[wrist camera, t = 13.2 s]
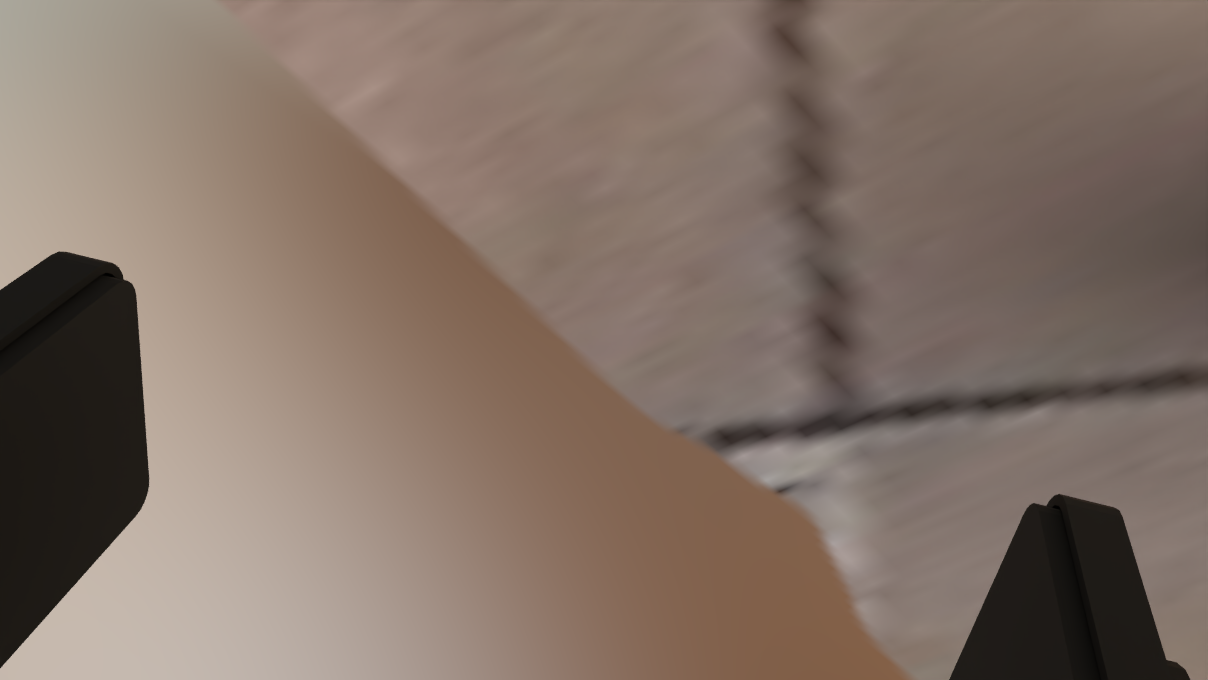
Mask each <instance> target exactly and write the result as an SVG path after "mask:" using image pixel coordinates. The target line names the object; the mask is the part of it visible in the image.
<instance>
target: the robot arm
mask: <svg viewBox="0 0 1208 680" xmlns="http://www.w3.org/2000/svg"><path fill="white" fill-rule="evenodd" d="M148 487H149V470H148V456H147V443H146V428H145V414H144V399H143V386H142V371H141V357H140V343H139V329H138V314H137V300H136V293H135V289H134V287H133V285H132V284H131V283H130V282H128V281H126V280H124V279H123V275H122V272H121V271H120V269H119V267H117V266H116V265H115V264H113V263H110V262H106V261H102V260H97V259H93V258H89V257H85V256H81V255H76V254H72V253H68V252H57V253H55V254H52V255H51V256H49V257H48V258H46V259H45V260H43V261H42V262H40V263H39V264H37V265H36V266H34V267H33V268H32V269H30V270H29V271H28V272H26V273H24V274H23V275H21V276H20V277H19V278H17V279H16V280H14V281H13V282H11V283H10V284H8V285H7V286H5V287H4V288H3V289H1V290H0V668H1V667H2V666H3V664H4V663H5V662H6V661H7V660H8V659H9V658H10V657H11V656H12V654H13V653H14V652H15V651H16V650H17V649H18V648H19V646H21V644H22V643H23V642H24V641H25V640H26V639H27V638H28V637H29V635H30V634H31V633H32V632H33V631H34V630H35V629H36V628H37V626H38V625H39V624H40V623H41V622H42V621H43V620H44V619H45V617H46V616H47V615H48V614H49V613H50V612H51V611H52V610H53V608H54V607H55V606H56V605H57V604H58V603H59V602H60V601H61V599H62V598H63V597H64V596H65V595H66V594H67V592H69V590H70V589H71V588H72V587H73V586H74V585H75V584H76V583H77V582H78V580H79V579H80V578H81V577H82V576H83V575H84V573H86V571H87V570H88V569H89V568H90V567H91V566H92V564H94V562H95V561H96V560H97V559H98V558H99V557H100V556H101V554H102V553H103V552H104V551H105V550H106V549H107V548H108V547H109V546H110V544H111V543H112V542H113V541H114V540H115V539H116V538H117V536H118V535H119V534H120V533H121V532H122V531H123V530H124V529H125V527H126V526H127V525H128V524H129V523H130V522H131V521H132V520H133V519H134V518H135V516H136V515H137V514H138V512H139V511H140V510H141V508H142V506H143V504H144V502H145V499H146V496H147V492H148ZM949 680H1190V678H1189V676H1188V674H1187V672H1186V670H1185V669H1184V668H1183V667H1181V666H1180V665H1179V664H1178V663H1176V662H1172V661H1168V660H1166V658H1165V654H1164V651H1163V648H1162V644H1161V641H1160V638H1159V635H1158V631H1157V628H1156V625H1155V622H1154V618H1153V615H1152V612H1151V608H1150V605H1149V602H1148V599H1147V595H1146V592H1145V589H1144V586H1143V582H1142V579H1141V576H1140V573H1139V569H1138V566H1137V563H1136V559H1135V556H1134V553H1133V550H1132V546H1131V543H1130V540H1129V537H1128V533H1127V530H1126V527H1125V523H1124V520H1123V517H1122V515H1121V513H1120V511H1119V510H1118V509H1116V508H1114V507H1110V506H1106V505H1102V504H1097V503H1093V502H1089V501H1085V500H1081V499H1077V498H1073V497H1069V496H1065V495H1061V494H1058V495H1055V496H1053V498H1052V499H1051V500H1050V501H1049V502H1048V504H1047V506H1043V505H1039V504H1035V503H1033V504H1031V505H1030V506H1029V507H1028V508H1027V509H1026V511H1025V513H1024V515H1023V517H1022V519H1021V521H1020V524H1019V526H1018V528H1017V530H1016V533H1015V535H1014V537H1013V539H1012V541H1011V544H1010V546H1009V548H1008V550H1007V553H1006V555H1005V557H1004V559H1003V561H1002V564H1001V566H1000V568H999V570H998V573H997V575H996V577H995V579H994V581H993V584H992V586H991V588H990V590H989V593H988V595H987V597H986V599H985V601H984V604H983V606H982V608H981V610H980V613H979V615H978V617H977V619H976V621H975V624H974V626H973V628H972V630H971V633H970V635H969V637H968V639H967V641H966V644H965V646H964V648H963V650H962V653H961V655H960V657H959V659H958V661H957V664H956V666H955V668H954V670H953V672H952V675H951V677H950V679H949Z"/></svg>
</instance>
